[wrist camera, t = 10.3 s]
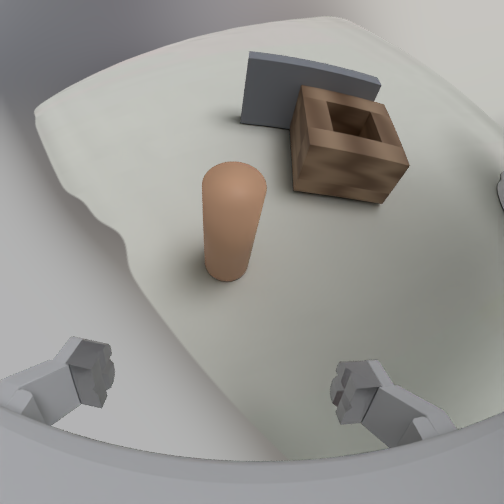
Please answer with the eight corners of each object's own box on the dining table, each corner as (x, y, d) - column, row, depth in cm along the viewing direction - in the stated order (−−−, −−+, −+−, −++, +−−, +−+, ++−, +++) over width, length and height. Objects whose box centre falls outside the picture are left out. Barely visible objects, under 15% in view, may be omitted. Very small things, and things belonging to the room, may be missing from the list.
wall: (352, 132, 40) (377, 77, 31) (354, 141, 39) (381, 85, 30) (241, 114, 38) (249, 51, 30) (240, 122, 37) (248, 58, 29)
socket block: (365, 141, 39) (384, 104, 32) (381, 203, 34) (409, 165, 27) (289, 127, 38) (301, 84, 32) (293, 190, 33) (309, 144, 26)
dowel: (249, 244, 29) (267, 165, 20) (247, 283, 27) (266, 214, 18) (207, 240, 29) (206, 159, 19) (202, 279, 27) (197, 208, 17)
